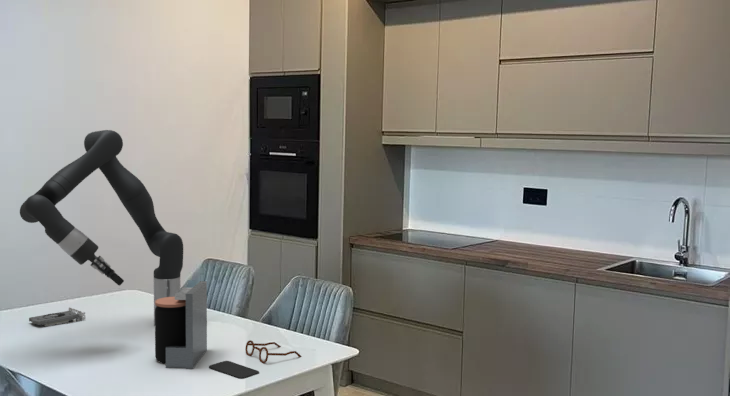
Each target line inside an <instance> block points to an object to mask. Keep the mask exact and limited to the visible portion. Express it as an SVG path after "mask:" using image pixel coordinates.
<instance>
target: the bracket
mask: <svg viewBox="0 0 730 396" xmlns="http://www.w3.org/2000/svg"><path fill="white" fill-rule="evenodd" d="M207 282H208V281H206V280H201V281H198V283H196V284H195V285H194V286H192V287H181V288H180V289H179V290H178V291H177V292H175V300H186V346H167V347H166V364H165V368H166V369H186V370H189V369H190V370H194V368H195V366H196V365H197V364H198V363H199V361H201V358H203V356H204V355H205V353H206V352H207V350H208V324H207V323H208V320H207V319H208V316H207V315H208V314H207V312H208V310H207V309H208V303H207V302H208V299H207V298H208V297H207V294H208V293H207V292H208V291H207V289H208V288H207V286H208V285H207Z"/></svg>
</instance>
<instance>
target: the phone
mask: <svg viewBox="0 0 730 396" xmlns="http://www.w3.org/2000/svg"><path fill="white" fill-rule="evenodd" d="M208 369H209V370H212V371H214V372H218V373H221V374H223V375H226V376H230V377H232V378H235V379H237V380H238V379H239V380H244V379H247V378H250V377H253V376H257V375H258V374H260V371H259V370H257V369H254V368H250V367H247V366H246V365H242V364H239V363H236V362H233V361H231V360H223V361H220V362H216V363H212V364H210V365H208Z"/></svg>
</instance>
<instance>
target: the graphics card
mask: <svg viewBox="0 0 730 396" xmlns="http://www.w3.org/2000/svg"><path fill="white" fill-rule="evenodd" d="M85 320H86V312H85V311H83V312H82V311H81V310H78V309H75V308H72V307H68V310H64V311H60V312H59V311H58V312H54V313H48V314H42V315H37V316H31V317H29V318H28V322H31V323H32V324H35V325H38V326H40V325H42V326H44V327H51V326H50V325H52V326H56V325H55V324H57V325H62V323H63V324H66V325H67V324H74V323H79V322H84V321H85Z"/></svg>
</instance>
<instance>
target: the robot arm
mask: <svg viewBox="0 0 730 396" xmlns="http://www.w3.org/2000/svg"><path fill="white" fill-rule="evenodd" d="M83 145H84V149H85V153H84V154H82V155H81V156H80V157H77V159H75V160H73V161H71V162H70V163H68V164H67V165H65V166H63V167H62V168H61V169H60V170H58V171H57V172H56V173H55V174H54V175H52V176H51V177H50V178H49V179H48V180H47V181H46V182H44V184H43V185H42V186H41V188H40V189H39V190H38V191H36V192H35V193H34V194H33V195H30V196H28V198H27V199H25V201H23V203H22V204H21V205H20V207H19V215H20V218H22V220H23V221H25V222H26V223H29V224H33V223H34V224H35V223H38V222H39V224H40V225H41V226H43V227H44V233H45V235H46V236H47V237H49V239H51V241H53V242H54V243H56V244H57V245H58V246H59V247H60V248H61V249H62V251H64V252H65V253H66V255H68V256H70V257H71V259H73V260H74V261H75V262H76V263H78V264H79V265H82V266H83V265H84V264H85V263H86V262H87V261H88V262H90V263H91V264H90V266H91V267H92V268H93V269H94V270H97V271H98V272H99V273H101V275H105V276H106V278H108V279H110V280H112V281H113V282H114V283H115V284H116V285H117V286H119V287H120V286H121V285H122V284H123V283H124V281H125V280H124V279H123V278H122V277H121V276H119V274H117V273H116V271H115V270H114V269H112V268H111V265H110V264H109V263H108V262H107V261H105V259H104V257H102V256H101V255H98V256H97V255H95V253H96V252H97V251H98V250H99V246H98V244H97V243H95V242H94V241H93V240H92V239H91V238H90V237H89V236H87V235H86V234H85V233H84V232H82V231H81V230H80V229H78V228H77V227H75V226H74V224H72V223H71V222H70V221H69V220H67V219H66V218H64V216H63V214H62V213H61V212H60V210H58V208H57V207H56V206H57V204H58V203H60V202H61V201H63V199H65V198H66V197H68V195H69V194H70V193H72V191H73V190H75V189H76V188H77V186H79V185H80V184H81V183H82V182H83V181H84V180H85V179H87V177H89V176H90V175H91V174H93V173H94V172H95V171H96V170H97V169H99V171H101V173H102V174H103V175H104V177H105V178H106V180H107V181H108V183H109V185H110V186H111V188H112V189H113V191H114V192H115V194H116V196H117V197H118V199H119V201H120V203H121V204H122V206H123V207H124V208H125V210H126V211H127V213H129V215H130V217H131V219H132V220H133V222H134V223H135V224H136V226H137V227H138V229H139V230H140V232H141V234H142V237H143V238H144V240H145V242H146V245H147V247H148V248H149V251H150V252H151V253H152V254H153V255H154V256H156V257H158V258H159V262H158V264H159V265H158V266H157V267H156V268H155V269H154V270H153V326H154V327H155V308H156V307H157V306H156V305H155V301H156V300H157V299H160V298H164V297H175V292H177V291H178V290H179V289H180V288H182V287H181V286H182V285H181V272H182V270H183V268H184V242H183V238H182V237H181V236H180V235H179V234H177V233H175V232H169V231H166V230H165V228H164V227H163V226H162V224H161V223H160V222H159V220H158V218H157V216H156V213H155V212H156V211H155V206H154V205H155V204H154V202H153V198H152V196H151V194H150V192H149V191H148V189H147V187H146V186H145V185H144V183H143V182H142V181H141V179H139V178H138V177H137V176H136V175H135V174H133V173H132V172H131V171H130V170H128V169H127V168H126V167H125V166H124V165H123V164H122V163H121V161H120V160H119V159H118V157H117V156H118V155H119V154H121V152H122V149H123V146H124V143H123V138H122V136H121V135H120V133H118V132H117V131H115V130H112V129H105V130H96V131H92V132H90V133H87V134H86V135H85V137H84V141H83Z"/></svg>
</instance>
